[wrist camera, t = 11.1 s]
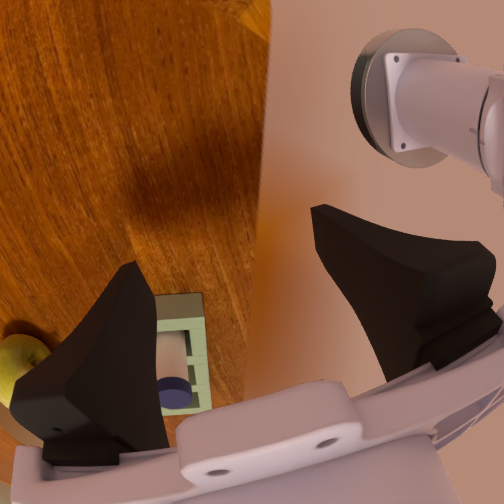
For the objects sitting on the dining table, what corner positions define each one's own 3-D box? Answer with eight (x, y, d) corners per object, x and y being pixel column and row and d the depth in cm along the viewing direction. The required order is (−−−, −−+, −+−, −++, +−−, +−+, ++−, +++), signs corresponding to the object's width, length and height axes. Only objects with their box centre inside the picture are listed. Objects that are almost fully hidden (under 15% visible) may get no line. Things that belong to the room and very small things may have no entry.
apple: (81, 345, 27) (69, 413, 20) (47, 378, 29) (37, 436, 22) (17, 302, 23) (-11, 369, 16) (-7, 344, 25) (-27, 402, 18)
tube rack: (131, 296, 25) (128, 322, 23) (201, 292, 26) (204, 316, 24) (158, 394, 33) (159, 415, 31) (208, 390, 35) (212, 411, 32)
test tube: (178, 305, 27) (184, 386, 20) (189, 326, 28) (198, 404, 21) (148, 313, 26) (146, 394, 20) (161, 334, 28) (163, 412, 21)
